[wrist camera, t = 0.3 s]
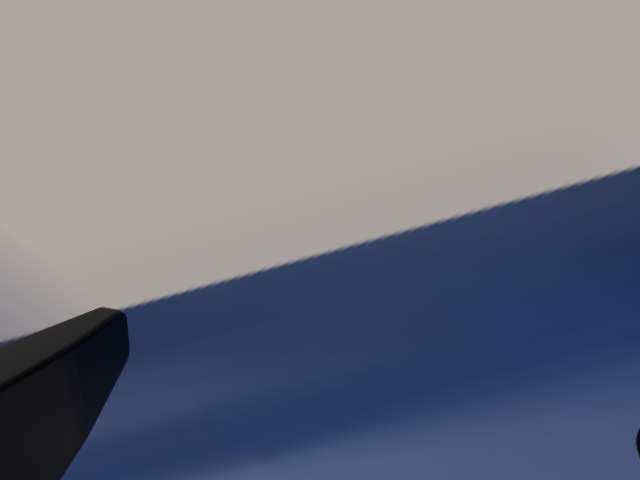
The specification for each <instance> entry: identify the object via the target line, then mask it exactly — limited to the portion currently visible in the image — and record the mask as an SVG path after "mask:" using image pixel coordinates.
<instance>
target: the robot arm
mask: <svg viewBox="0 0 640 480" xmlns="http://www.w3.org/2000/svg"><path fill="white" fill-rule="evenodd" d="M128 356H129V336H128V326H127V318H126V315H125V313H124V312H123V311H122V310H118V309H111V308H105V307H101V308H97V309H95V310H92V311H90V312H87V313H85V314H82V315H80V316H77V317H75V318H72V319H69V320H67V321H64V322H62V323H59V324H56V325H54V326H51V327H49V328H46V329H44V330H41V331H39V332H36V333H34V334H31V335H28V336H26V337H23V338H21V339H18V340H16V341H13V342H11V343H8V344H5V345H3V346H0V480H60V479H61V478H62V476H63V475H64V473H65V472H66V470H67V469H68V467H69V466H70V464H71V463H72V461H73V459H74V458H75V456H76V455H77V453H78V452H79V450H80V449H81V447H82V445H83V444H84V442H85V440H86V439H87V437H88V435H89V434H90V432H91V430H92V428H93V426H94V425H95V423H96V421H97V419H98V417H99V415H100V413H101V411H102V409H103V407H104V405H105V403H106V401H107V399H108V397H109V395H110V393H111V391H112V389H113V387H114V385H115V383H116V381H117V379H118V378H119V376H120V374H121V372H122V370H123V368H124V366H125V364H126V362H127V359H128ZM636 444H637V450H638V454H639V457H640V429H639V431H638V433H637V438H636Z"/></svg>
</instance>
